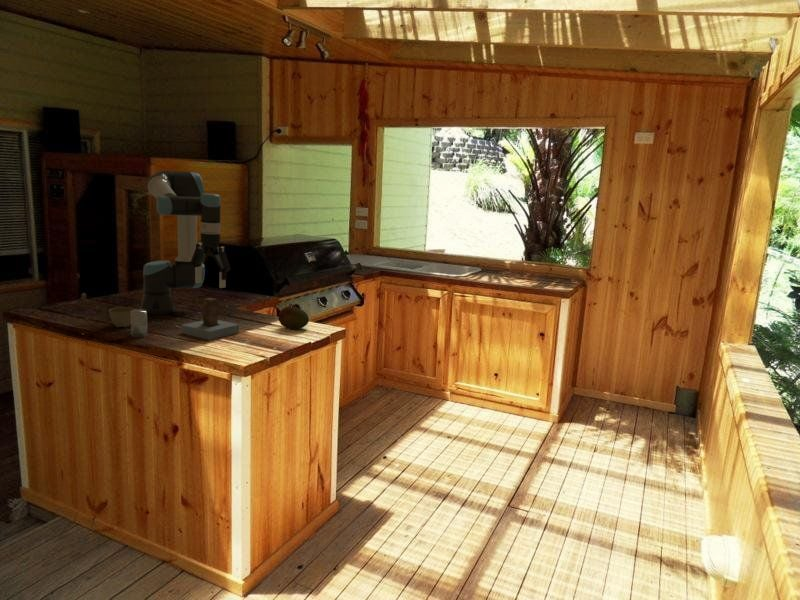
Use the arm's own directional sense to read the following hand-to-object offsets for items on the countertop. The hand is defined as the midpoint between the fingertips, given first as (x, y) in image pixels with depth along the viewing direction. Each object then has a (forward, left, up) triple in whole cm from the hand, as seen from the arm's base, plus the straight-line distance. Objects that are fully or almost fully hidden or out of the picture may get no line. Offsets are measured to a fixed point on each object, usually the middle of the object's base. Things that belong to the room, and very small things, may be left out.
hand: (210, 285), depth 246 cm
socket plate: (0, 0, -20) cm, 20 cm away
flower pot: (-34, -16, -20) cm, 42 cm away
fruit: (+20, +29, -20) cm, 41 cm away
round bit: (-17, -21, -20) cm, 34 cm away
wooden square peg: (0, 0, -20) cm, 20 cm away
